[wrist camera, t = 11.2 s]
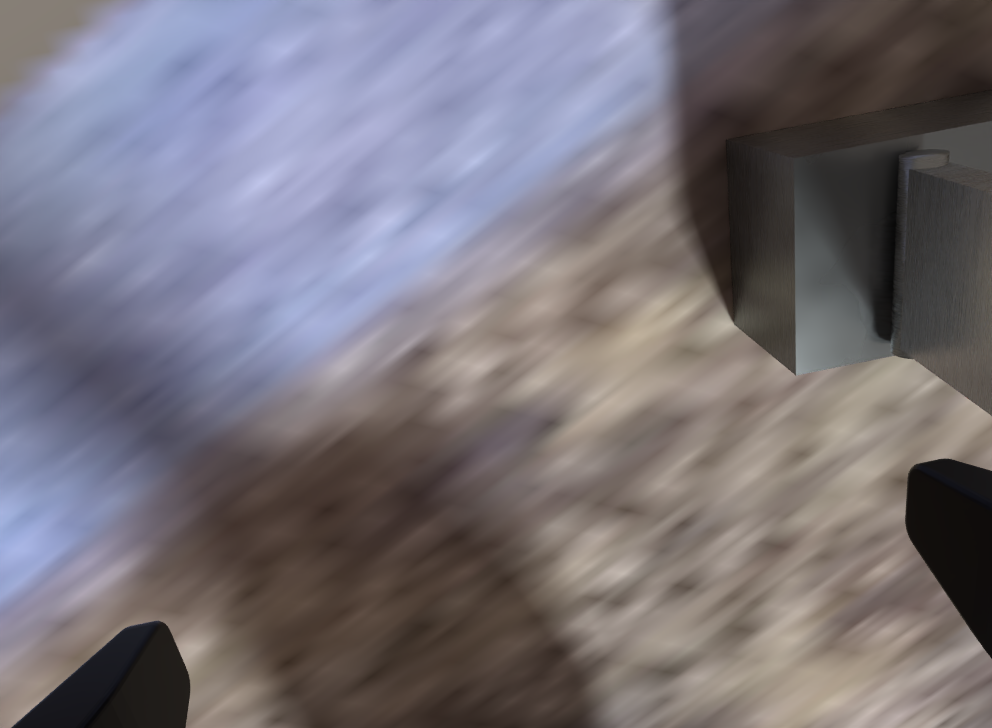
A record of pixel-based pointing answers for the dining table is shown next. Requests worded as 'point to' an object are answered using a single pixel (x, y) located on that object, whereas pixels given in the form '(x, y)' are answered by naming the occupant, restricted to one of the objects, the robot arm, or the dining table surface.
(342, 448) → the dining table surface
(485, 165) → the dining table surface
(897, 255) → the keeper flap
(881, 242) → the hitch bar
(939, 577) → the robot arm
